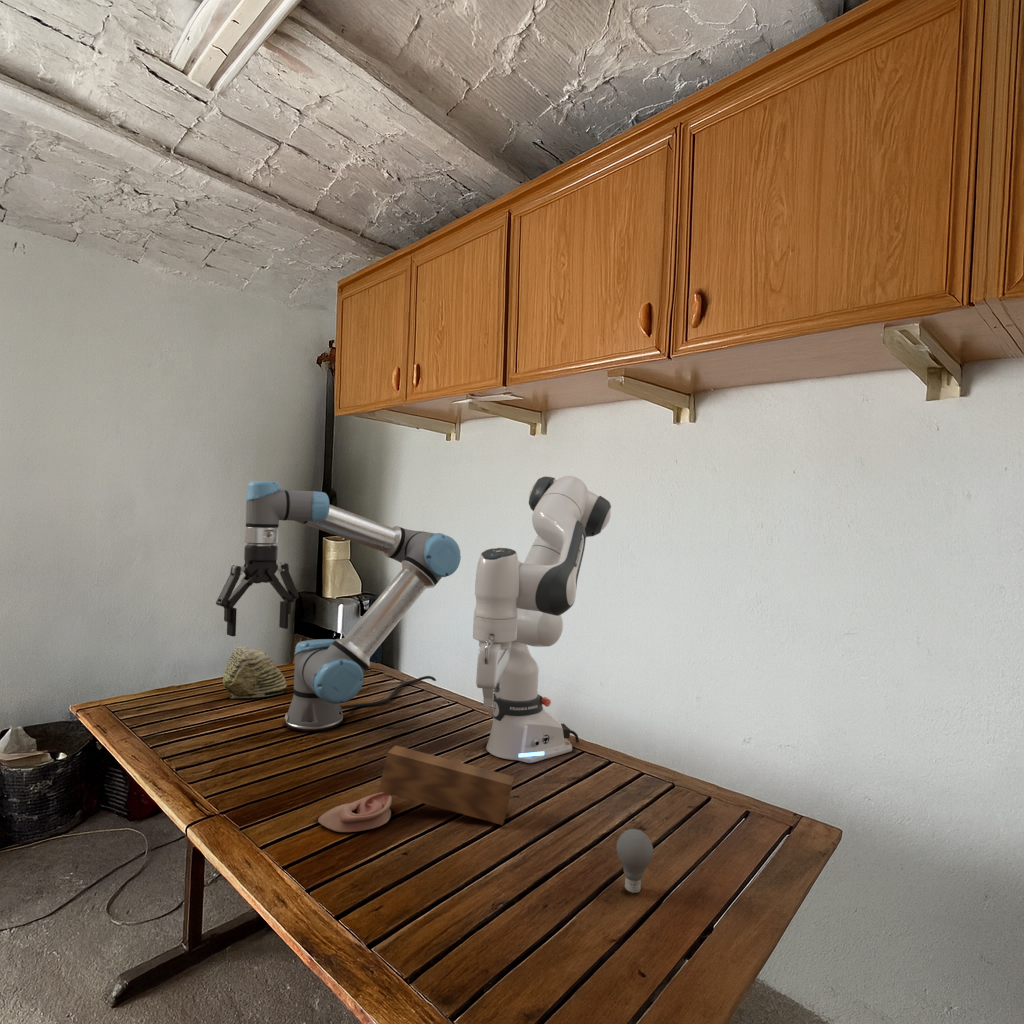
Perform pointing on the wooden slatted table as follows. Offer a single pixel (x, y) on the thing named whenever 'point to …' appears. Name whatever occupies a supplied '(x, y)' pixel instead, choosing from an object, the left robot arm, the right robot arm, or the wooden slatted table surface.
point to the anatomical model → (359, 814)
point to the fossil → (252, 674)
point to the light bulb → (634, 857)
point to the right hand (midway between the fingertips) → (492, 698)
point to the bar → (446, 784)
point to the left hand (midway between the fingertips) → (258, 631)
